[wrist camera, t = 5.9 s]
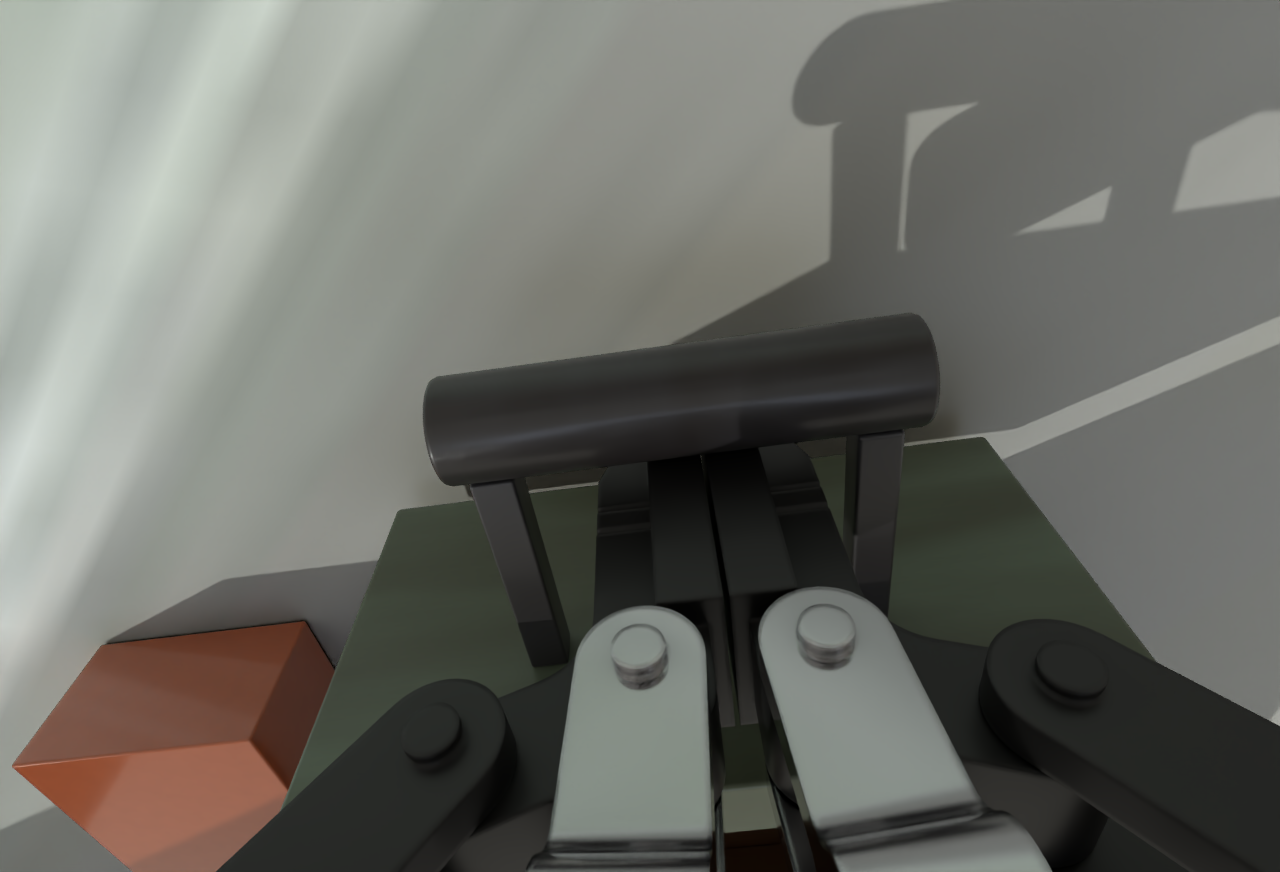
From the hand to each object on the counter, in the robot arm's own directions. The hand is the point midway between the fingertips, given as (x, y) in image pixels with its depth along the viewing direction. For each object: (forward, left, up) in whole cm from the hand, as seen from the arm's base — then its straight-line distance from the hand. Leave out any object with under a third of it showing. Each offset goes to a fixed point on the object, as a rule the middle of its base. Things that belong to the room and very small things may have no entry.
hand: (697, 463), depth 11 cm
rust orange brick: (-13, -9, -4) cm, 17 cm away
